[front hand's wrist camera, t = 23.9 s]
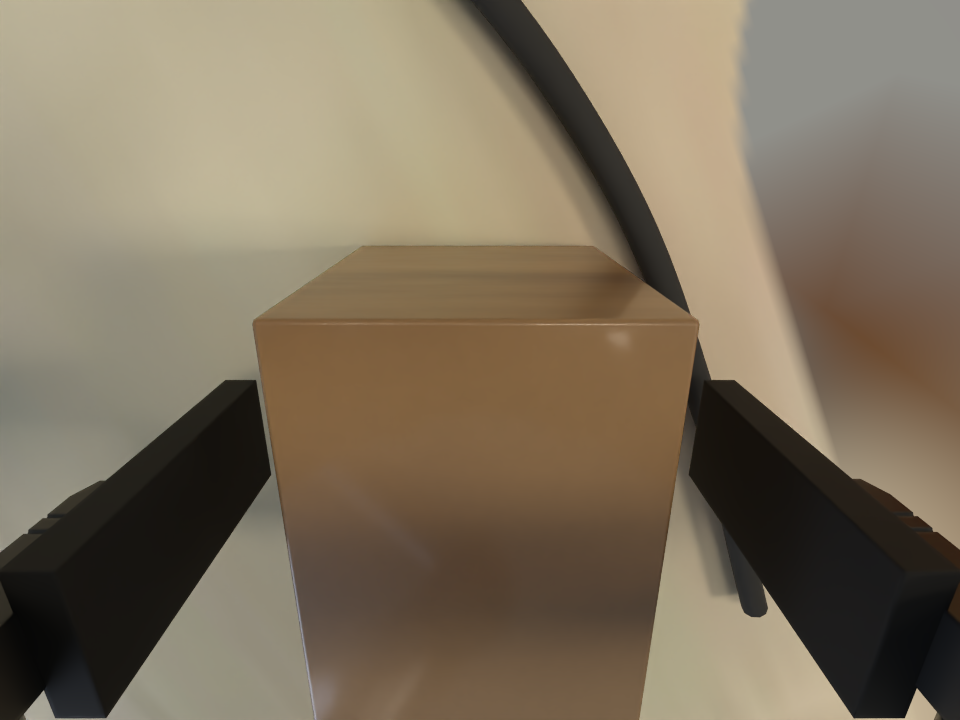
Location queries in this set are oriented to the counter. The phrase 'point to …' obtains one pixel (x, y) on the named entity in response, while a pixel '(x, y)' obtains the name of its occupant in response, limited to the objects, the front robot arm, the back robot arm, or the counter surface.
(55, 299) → the counter surface
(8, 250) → the counter surface
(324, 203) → the counter surface
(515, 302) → the brown cardboard box
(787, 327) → the counter surface
